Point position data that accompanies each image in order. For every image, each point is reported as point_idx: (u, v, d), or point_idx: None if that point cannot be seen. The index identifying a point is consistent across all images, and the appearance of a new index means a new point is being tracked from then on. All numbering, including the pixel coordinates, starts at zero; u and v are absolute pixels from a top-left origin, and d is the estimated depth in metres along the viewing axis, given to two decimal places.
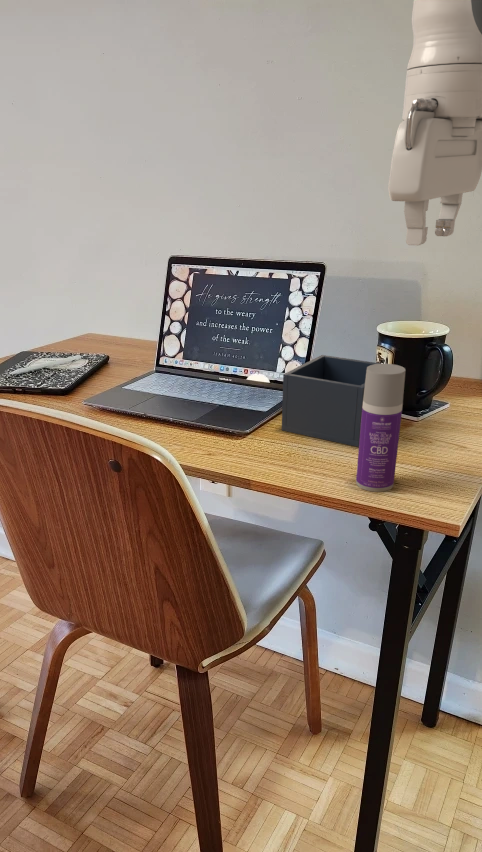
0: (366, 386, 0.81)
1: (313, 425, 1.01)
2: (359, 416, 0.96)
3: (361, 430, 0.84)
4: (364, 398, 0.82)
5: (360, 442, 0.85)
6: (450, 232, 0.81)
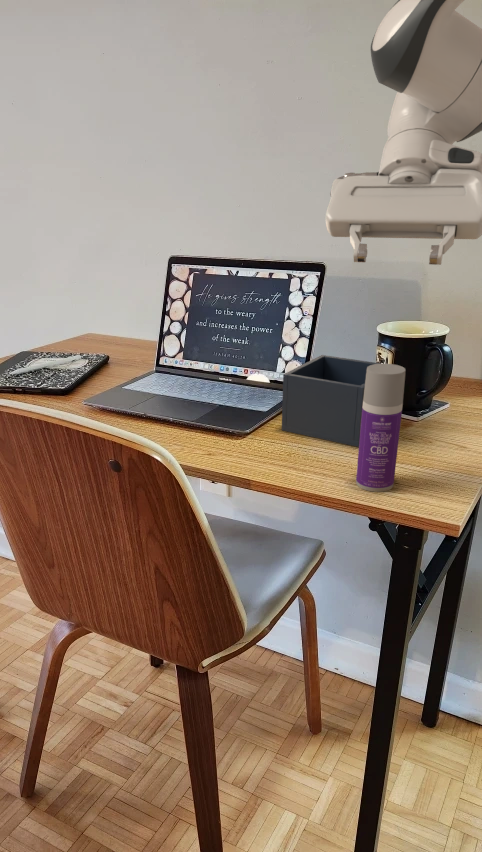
0: (366, 386, 0.81)
1: (313, 425, 1.01)
2: (359, 416, 0.96)
3: (361, 430, 0.84)
4: (364, 398, 0.82)
5: (360, 442, 0.85)
6: (433, 254, 0.86)
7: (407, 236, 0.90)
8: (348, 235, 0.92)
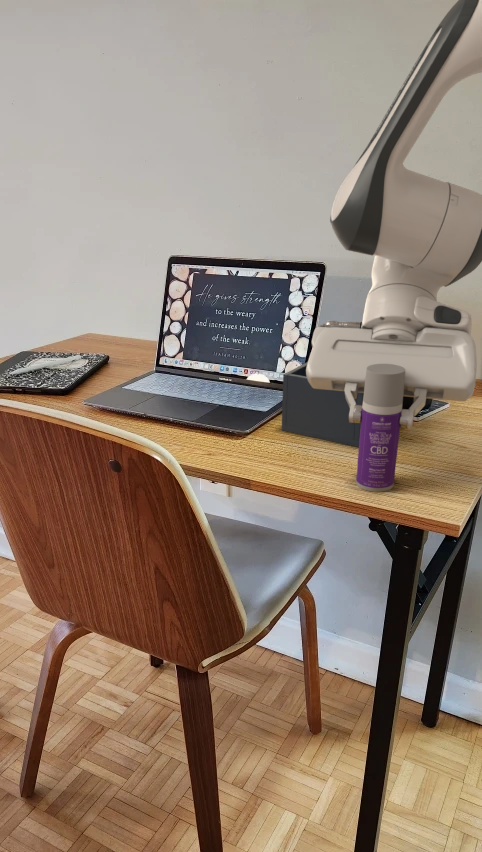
0: (366, 386, 0.81)
1: (313, 425, 1.01)
2: None
3: (361, 430, 0.84)
4: (364, 398, 0.82)
5: (360, 442, 0.85)
6: (403, 419, 0.82)
7: None
8: (330, 389, 0.88)
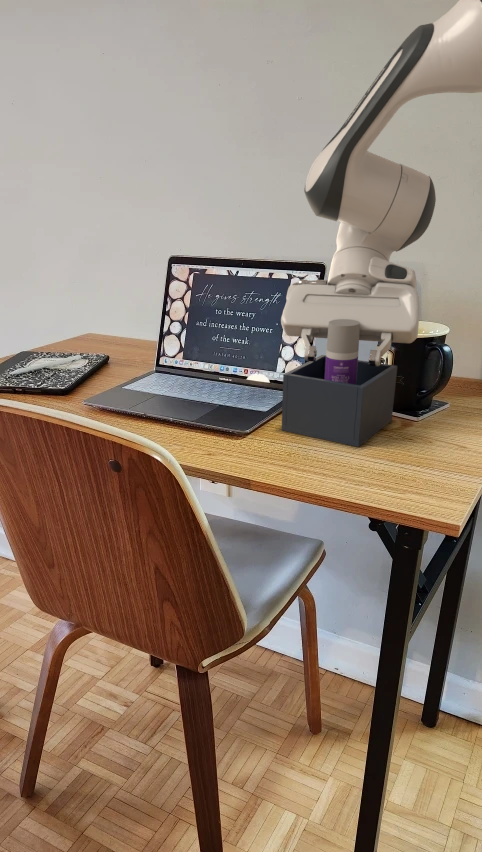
0: (328, 337, 1.00)
1: (313, 425, 1.01)
2: (359, 416, 0.96)
3: (325, 374, 1.02)
4: (327, 347, 1.01)
5: None
6: (371, 358, 0.99)
7: None
8: (301, 335, 1.06)
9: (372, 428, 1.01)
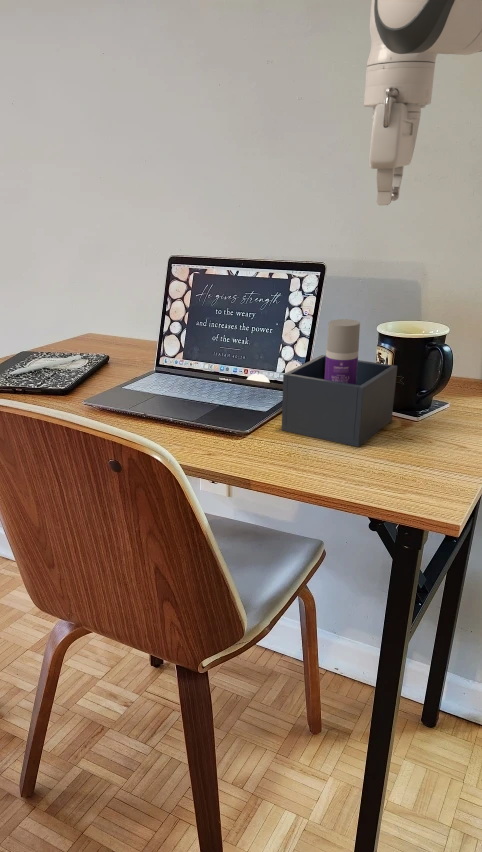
0: (328, 337, 1.00)
1: (313, 425, 1.01)
2: (359, 416, 0.96)
3: (325, 374, 1.02)
4: (327, 347, 1.01)
5: None
6: (397, 197, 1.02)
7: None
8: None
9: (372, 428, 1.01)
